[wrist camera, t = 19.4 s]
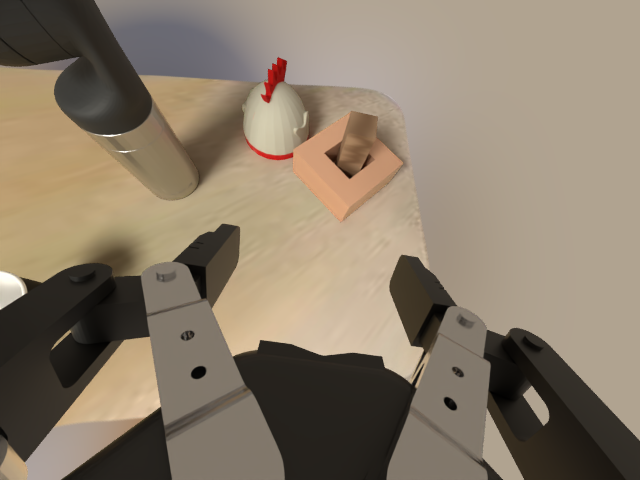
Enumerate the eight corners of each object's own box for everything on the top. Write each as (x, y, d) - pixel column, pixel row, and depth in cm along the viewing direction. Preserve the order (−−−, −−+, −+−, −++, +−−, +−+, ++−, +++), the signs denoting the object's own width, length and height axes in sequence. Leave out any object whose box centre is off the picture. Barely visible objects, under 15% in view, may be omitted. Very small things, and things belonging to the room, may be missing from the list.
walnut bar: (332, 181, 50) (348, 132, 37) (334, 163, 51) (351, 110, 38) (352, 185, 50) (375, 138, 37) (354, 167, 52) (377, 116, 38)
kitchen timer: (317, 124, 55) (328, 58, 41) (292, 170, 51) (293, 113, 37) (263, 99, 55) (254, 25, 41) (232, 143, 51) (211, 76, 37)
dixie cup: (62, 274, 39) (-20, 260, 29) (106, 293, 39) (41, 285, 29) (24, 322, 37) (-80, 325, 26) (72, 342, 37) (-13, 353, 26)
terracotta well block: (292, 171, 51) (293, 149, 44) (343, 136, 55) (350, 112, 48) (340, 222, 48) (349, 207, 42) (389, 182, 53) (403, 163, 46)
